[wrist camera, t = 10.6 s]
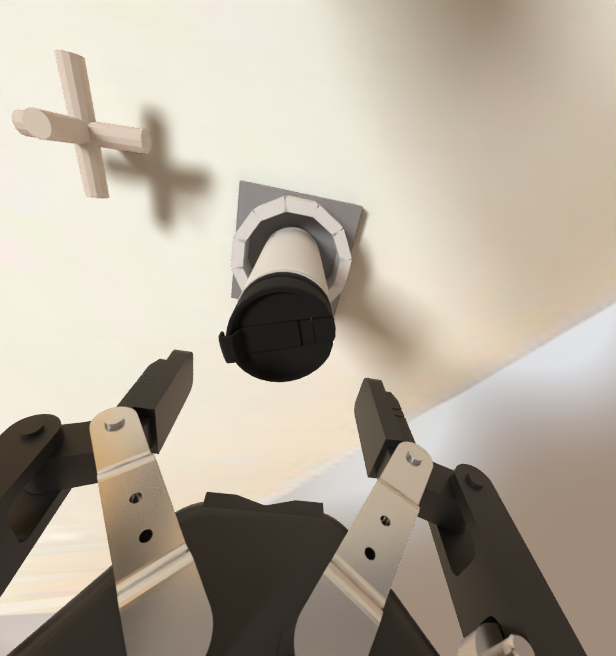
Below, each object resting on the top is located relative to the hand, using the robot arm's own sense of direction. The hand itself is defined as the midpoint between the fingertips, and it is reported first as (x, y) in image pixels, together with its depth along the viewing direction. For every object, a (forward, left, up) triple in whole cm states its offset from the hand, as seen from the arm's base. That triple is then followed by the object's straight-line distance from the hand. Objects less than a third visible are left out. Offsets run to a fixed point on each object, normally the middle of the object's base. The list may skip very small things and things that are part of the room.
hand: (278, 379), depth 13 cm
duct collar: (0, 0, -24) cm, 24 cm away
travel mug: (0, 0, -23) cm, 23 cm away
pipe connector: (-8, -19, -24) cm, 32 cm away
